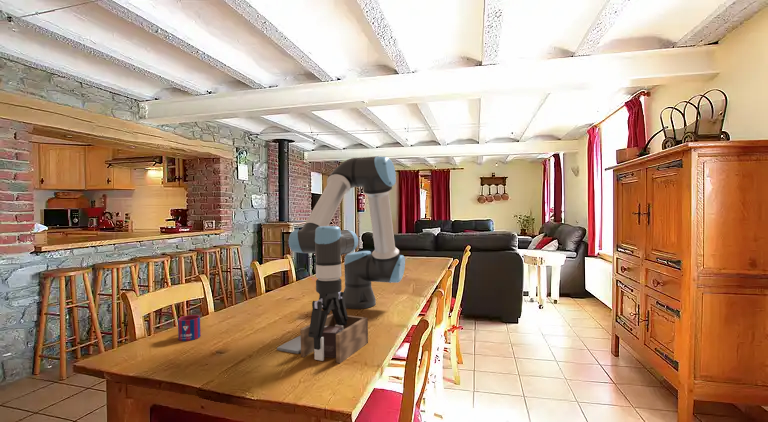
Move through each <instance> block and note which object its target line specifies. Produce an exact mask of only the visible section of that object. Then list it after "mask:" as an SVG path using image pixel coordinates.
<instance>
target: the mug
mask: <svg viewBox="0 0 768 422" xmlns="http://www.w3.org/2000/svg"><path fill="white" fill-rule="evenodd" d="M201 330H202V329H201V315H200V314H189V315H183V316H181V317H179V318H178V319H177V334H178V335H177V336H178V338H177V339H178V341H181V342H189V341H194V340H197V339H199V338H200V337H201V335H202V334H201Z"/></svg>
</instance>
